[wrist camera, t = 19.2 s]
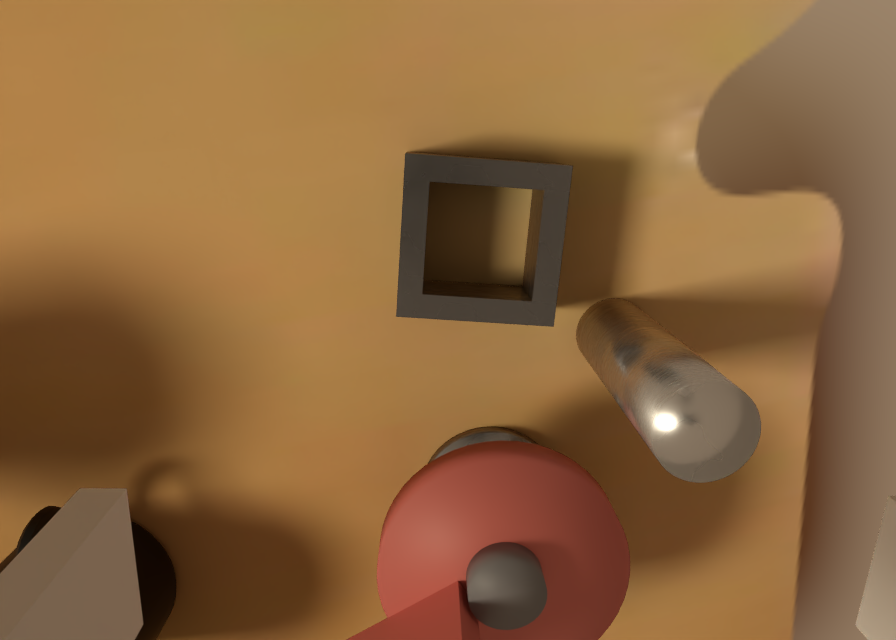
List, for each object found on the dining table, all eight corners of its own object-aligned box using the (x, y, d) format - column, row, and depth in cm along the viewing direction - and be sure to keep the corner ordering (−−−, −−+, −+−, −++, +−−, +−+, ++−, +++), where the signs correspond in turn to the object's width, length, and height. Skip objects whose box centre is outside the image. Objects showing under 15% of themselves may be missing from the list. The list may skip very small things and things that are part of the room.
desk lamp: (216, 580, 33) (157, 703, 26) (547, 396, 31) (583, 474, 24) (346, 741, 36) (326, 891, 29) (658, 583, 34) (720, 702, 27)
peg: (581, 295, 36) (661, 378, 24) (653, 300, 36) (770, 385, 24) (572, 365, 37) (644, 479, 25) (642, 369, 37) (749, 485, 25)
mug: (170, 470, 38) (94, 567, 29) (183, 644, 41) (118, 779, 33) (3, 466, 38) (-125, 563, 29) (29, 642, 41) (-79, 778, 32)
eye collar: (407, 152, 34) (405, 153, 31) (558, 163, 34) (572, 165, 31) (399, 299, 36) (396, 316, 33) (541, 309, 36) (553, 326, 33)
